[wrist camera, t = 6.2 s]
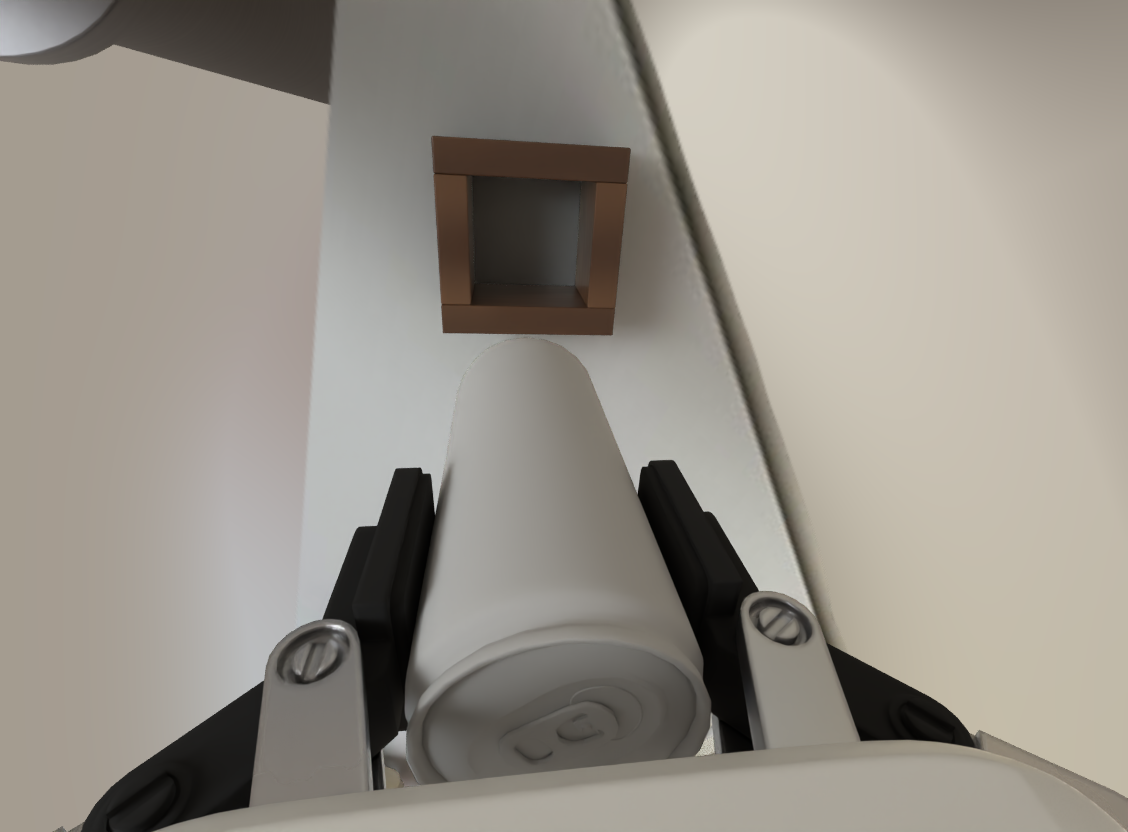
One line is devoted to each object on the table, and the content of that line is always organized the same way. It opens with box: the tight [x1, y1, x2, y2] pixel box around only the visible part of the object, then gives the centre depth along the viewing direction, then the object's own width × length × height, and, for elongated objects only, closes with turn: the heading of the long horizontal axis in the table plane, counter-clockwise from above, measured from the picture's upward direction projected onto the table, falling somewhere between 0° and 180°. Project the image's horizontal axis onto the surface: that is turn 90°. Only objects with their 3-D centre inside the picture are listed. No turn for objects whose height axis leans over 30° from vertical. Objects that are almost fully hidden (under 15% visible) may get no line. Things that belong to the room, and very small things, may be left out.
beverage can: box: [405, 337, 711, 785], centre depth 13 cm, size 5×5×12 cm
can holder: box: [431, 136, 631, 335], centre depth 27 cm, size 9×9×5 cm
